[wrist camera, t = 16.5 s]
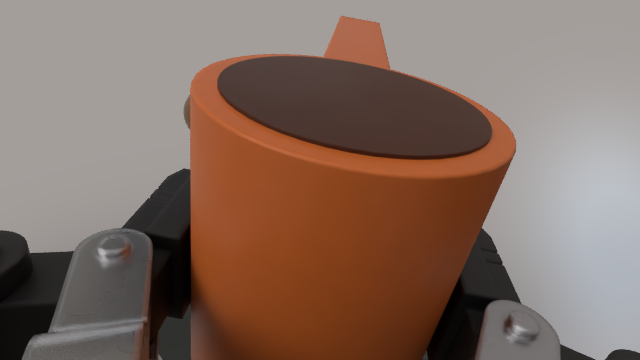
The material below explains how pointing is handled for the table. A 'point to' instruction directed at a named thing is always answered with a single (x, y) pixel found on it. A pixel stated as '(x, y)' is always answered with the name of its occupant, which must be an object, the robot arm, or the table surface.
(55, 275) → the robot arm
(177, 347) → the table surface
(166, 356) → the table surface
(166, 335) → the table surface
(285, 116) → the measuring cup
